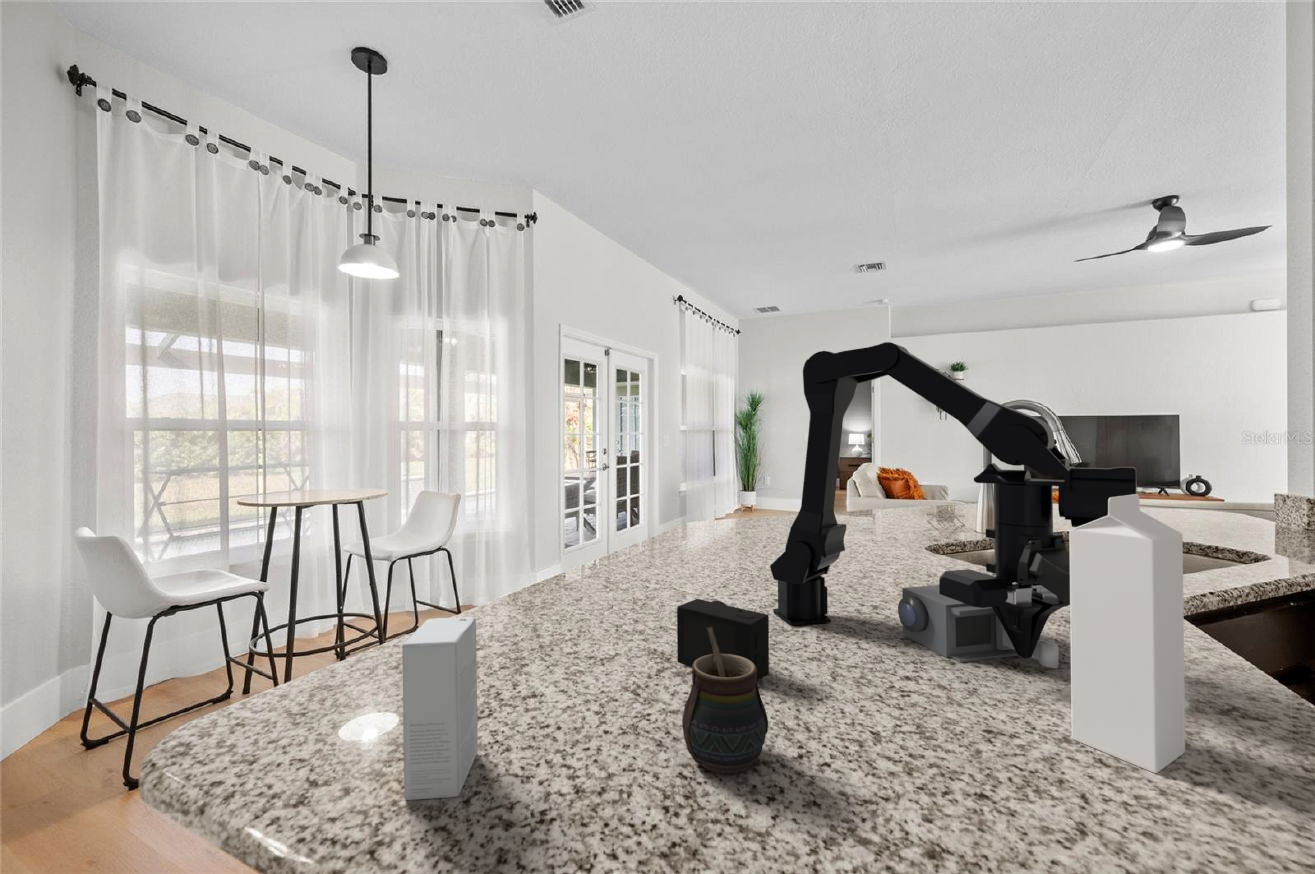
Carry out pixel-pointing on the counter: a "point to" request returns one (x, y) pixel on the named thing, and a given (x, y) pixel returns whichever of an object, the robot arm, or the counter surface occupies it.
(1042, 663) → the side hatch
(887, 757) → the counter surface
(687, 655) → the digital camera
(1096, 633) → the milk
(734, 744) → the mate gourd
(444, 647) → the skincare box
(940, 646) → the camera housing
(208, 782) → the counter surface
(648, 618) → the counter surface
